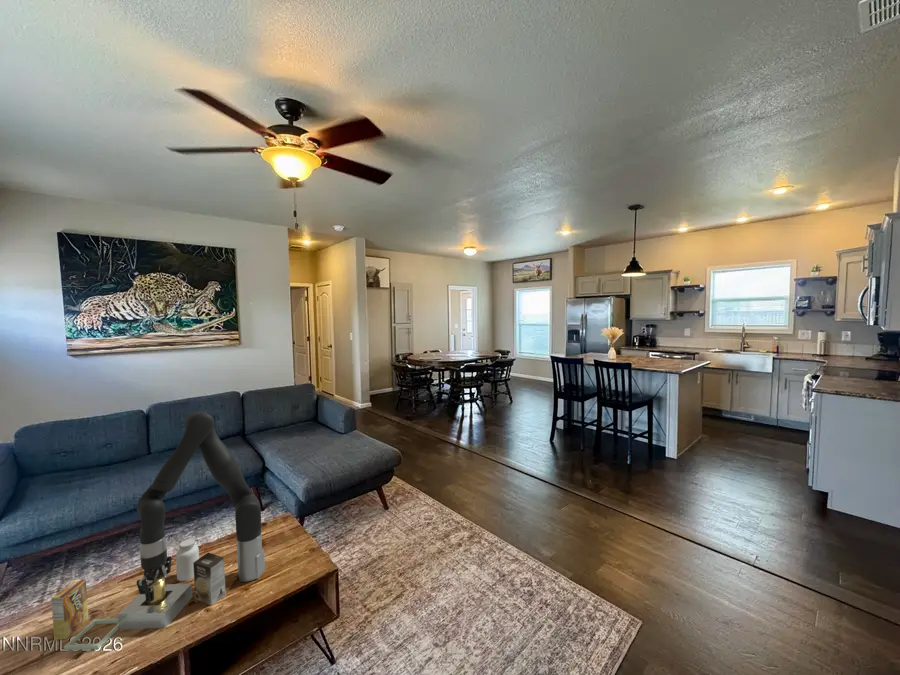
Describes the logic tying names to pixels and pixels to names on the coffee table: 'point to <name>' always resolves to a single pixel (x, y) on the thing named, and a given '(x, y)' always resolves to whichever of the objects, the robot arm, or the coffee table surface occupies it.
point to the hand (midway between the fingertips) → (156, 594)
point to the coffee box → (209, 578)
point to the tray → (96, 621)
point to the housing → (155, 609)
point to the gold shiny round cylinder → (158, 591)
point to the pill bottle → (186, 559)
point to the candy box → (69, 609)
